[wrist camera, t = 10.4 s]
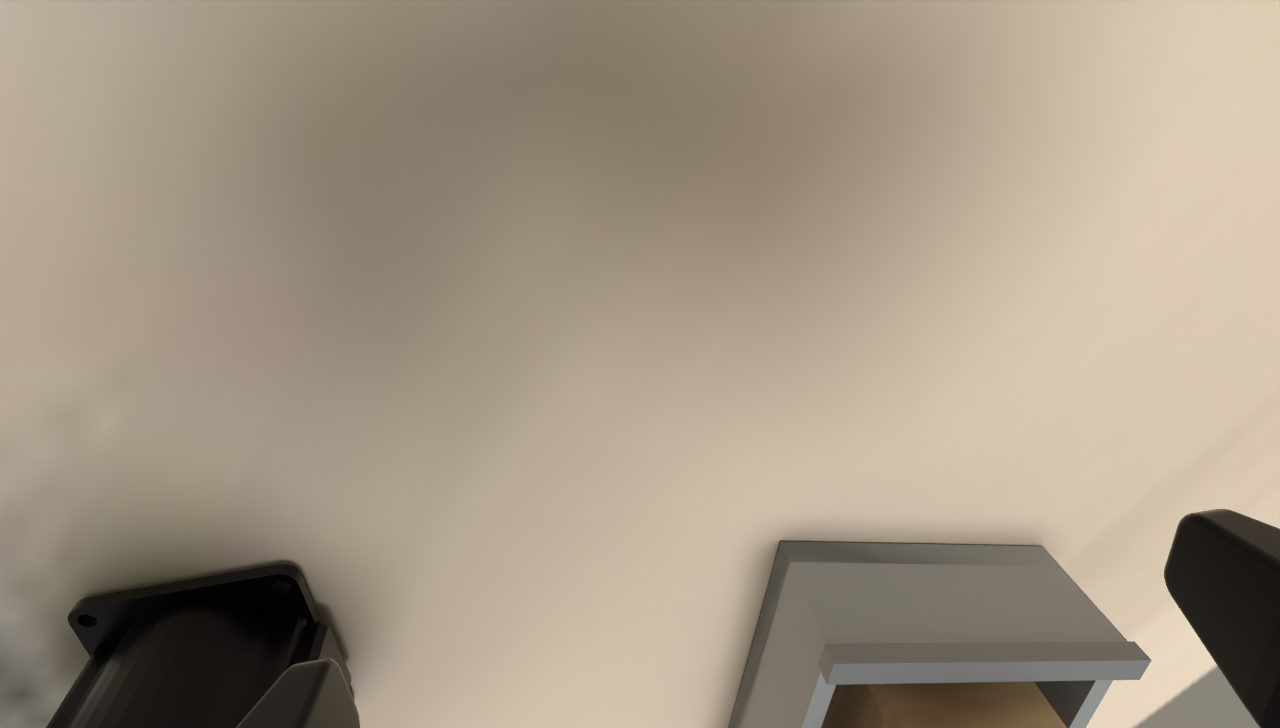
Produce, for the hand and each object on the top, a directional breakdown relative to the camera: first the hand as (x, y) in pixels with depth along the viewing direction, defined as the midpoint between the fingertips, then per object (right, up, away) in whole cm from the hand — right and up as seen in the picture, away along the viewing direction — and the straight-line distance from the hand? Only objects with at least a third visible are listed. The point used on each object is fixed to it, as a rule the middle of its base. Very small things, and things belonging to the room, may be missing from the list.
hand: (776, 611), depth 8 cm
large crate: (+7, -8, +20) cm, 23 cm away
